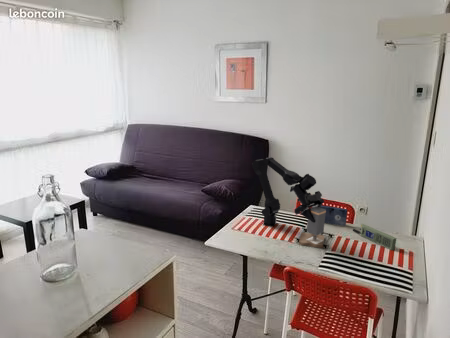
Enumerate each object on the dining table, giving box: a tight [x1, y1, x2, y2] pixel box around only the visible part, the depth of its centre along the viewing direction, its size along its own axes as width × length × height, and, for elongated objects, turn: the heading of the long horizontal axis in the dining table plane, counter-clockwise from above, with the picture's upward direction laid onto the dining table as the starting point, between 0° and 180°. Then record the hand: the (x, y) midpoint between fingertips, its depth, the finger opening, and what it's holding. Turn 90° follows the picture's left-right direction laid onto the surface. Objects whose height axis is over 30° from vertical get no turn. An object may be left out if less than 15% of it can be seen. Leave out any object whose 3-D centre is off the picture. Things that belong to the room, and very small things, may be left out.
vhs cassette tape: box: [321, 204, 348, 227], centre depth 201 cm, size 18×3×10 cm, turn 65°
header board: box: [298, 232, 325, 249], centre depth 178 cm, size 12×12×4 cm
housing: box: [306, 206, 326, 235], centre depth 174 cm, size 6×6×12 cm
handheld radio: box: [352, 223, 397, 251], centre depth 180 cm, size 7×3×25 cm
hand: (318, 220), depth 172 cm, fingers closed on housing, 6 cm apart
